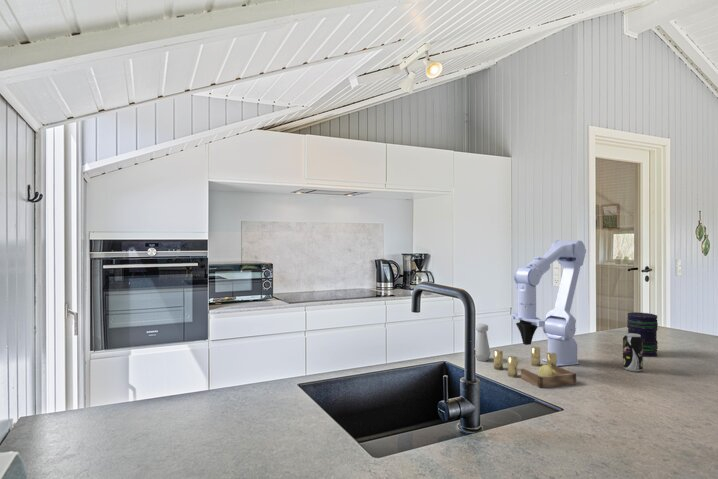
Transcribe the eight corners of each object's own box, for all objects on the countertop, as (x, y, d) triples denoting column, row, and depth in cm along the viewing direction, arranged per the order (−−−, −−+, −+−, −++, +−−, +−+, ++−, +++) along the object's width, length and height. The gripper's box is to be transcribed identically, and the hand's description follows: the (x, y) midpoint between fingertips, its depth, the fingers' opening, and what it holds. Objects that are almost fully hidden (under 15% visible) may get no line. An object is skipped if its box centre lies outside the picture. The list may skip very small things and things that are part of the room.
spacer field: (536, 363, 156) (536, 346, 156) (558, 372, 146) (558, 354, 146) (492, 367, 151) (492, 350, 151) (511, 377, 141) (511, 358, 141)
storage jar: (657, 352, 170) (657, 313, 170) (658, 358, 162) (658, 318, 162) (627, 348, 175) (627, 311, 175) (626, 354, 167) (626, 315, 167)
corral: (555, 374, 144) (555, 365, 144) (575, 383, 135) (575, 373, 135) (521, 378, 140) (521, 369, 140) (539, 387, 131) (539, 377, 131)
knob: (549, 384, 134) (549, 368, 134) (535, 379, 139) (535, 363, 139) (560, 382, 137) (560, 366, 136) (546, 377, 141) (546, 361, 141)
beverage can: (639, 373, 144) (639, 337, 144) (620, 369, 149) (620, 334, 149) (645, 370, 148) (645, 334, 148) (626, 366, 152) (626, 331, 152)
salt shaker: (488, 357, 164) (488, 322, 163) (491, 362, 158) (492, 326, 158) (472, 357, 164) (472, 322, 164) (475, 361, 159) (475, 325, 158)
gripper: (503, 301, 153) (503, 340, 153) (530, 307, 139) (530, 350, 139) (521, 300, 155) (521, 338, 155) (549, 306, 141) (549, 348, 141)
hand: (527, 344), depth 147 cm, fingers closed
